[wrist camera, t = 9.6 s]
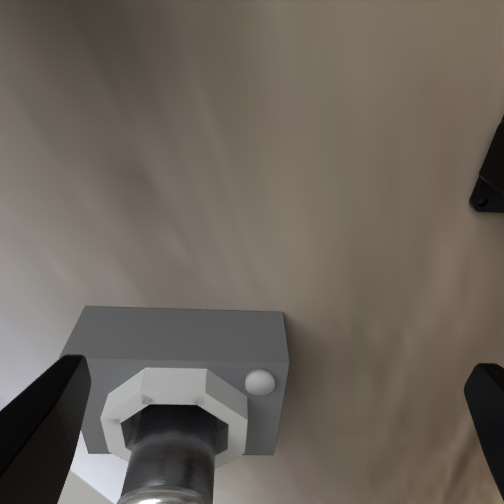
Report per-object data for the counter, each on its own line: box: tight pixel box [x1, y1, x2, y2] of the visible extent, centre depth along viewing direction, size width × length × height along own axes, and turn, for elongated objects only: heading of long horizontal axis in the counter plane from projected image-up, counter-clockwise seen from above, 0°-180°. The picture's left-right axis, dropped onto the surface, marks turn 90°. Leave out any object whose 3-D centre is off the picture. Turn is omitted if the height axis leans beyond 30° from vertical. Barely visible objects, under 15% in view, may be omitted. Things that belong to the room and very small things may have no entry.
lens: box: [117, 404, 217, 504], centre depth 20 cm, size 5×5×7 cm
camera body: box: [59, 306, 290, 468], centre depth 24 cm, size 12×9×6 cm
